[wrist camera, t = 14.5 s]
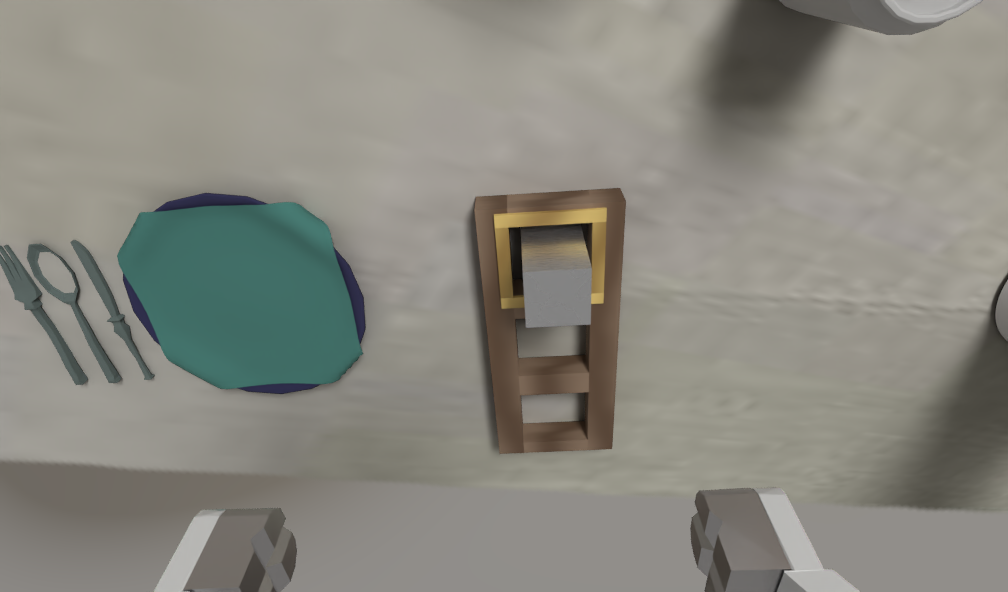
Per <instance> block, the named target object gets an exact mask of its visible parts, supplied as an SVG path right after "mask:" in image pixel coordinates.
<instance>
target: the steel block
mask: <svg viewBox="0 0 1008 592" xmlns="http://www.w3.org/2000/svg"><path fill="white" fill-rule="evenodd" d="M521 246H522V268H523V286H524V303H525V320H526V328H533V327H552V326H571V325H590V324H591V285H592V267H591V263H590V259H589V255H588V251H587V248H586V244H585V240H584V236H583V232H582V228H581V224H580V223H577V224H560V225H543V226H526V227H521Z"/></svg>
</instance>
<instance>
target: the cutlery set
mask: <svg viewBox="0 0 1008 592" xmlns="http://www.w3.org/2000/svg"><path fill="white" fill-rule="evenodd" d="M71 244H72V246H73V248H74V250H75V251H76V253H77V255H78V257H79V259H80V260H81V262H82V264H83V266H84V268H85V270H86V271H87V273H88V275H89V277H90V279H91V280H92V282H93V284H94V286H95V288H96V289H97V291H98V293H99V295H100V297H101V299H102V300H103V302H104V304H105V306H106V308H107V309H108V311H109V313H110V315H111V318H110V319H109V320H108V321H107V322H112V323H113V324H114V332H115V333H116V334H118V335H119V336H120V337H121V338H122V339H123V340H124V341H125V343H126V344H127V346H128V348H129V350H130V351H131V353H132V354H133V355H134V357H135V358H136V360H137V362H138V364H139V366H140V368H141V370H142V372H143V374H144V376H145V378H144V380H147V379H152V378H153V376H154V375H151V373H150V372H149V370H148V368H147V367H146V365H145V364H144V362H143V361H142V359H141V357H140V355H139V353H138V351H137V349H136V347H135V345H134V343H133V342H132V340H131V336H130V327H129V326H128V325H127V324H125V323H124V316H125V315H123V314H119V311H118V308H117V306H116V303H115V301H114V298H113V295H112V293H111V291H110V289H109V287H108V285H107V283H106V281H105V280H104V278H103V276H102V274H101V272H100V270H99V268H98V267H97V265H96V263H95V261H94V259H93V258H92V256H91V254H90V253H89V251H88V250H87V249H86V248H85V247H84V246H83V245H81V244H80V243H79V242H78V241H76V240H73V241H71ZM4 247H5V249H6V250H7V252H8V253H9V254H10V256H11V258H12V260H13V261H12V260H11V259H10V257H9V256H8V254H7V253H6V252H5V250H4V249H3V247H2V246H0V252H1V253H2V255H3V256H4V258H5V260H6V262H7V263H6V262H5V260H4V259H3V258H2V256H1V255H0V264H1V266H2V268H3V270H4V273H5V275H6V277H7V279H8V281H9V283H10V285H11V287H12V289H13V292H14V294H15V300H18V301H20V302H23V303H24V306H25V310H31V311H32V313H33V314H34V316H35V317H36V319H37V320H38V322H39V323H40V324H41V325H42V327H43V328H44V329H45V331H46V332H47V334H48V335H49V337H50V339H51V340H52V342H53V344H54V346H55V347H56V349H57V351H58V353H59V355H60V357H61V359H62V361H63V363H64V365H65V367H66V369H67V370H68V372H69V374H70V375H71V377H72V379H73V381H74V383H75V384H76V385H82V384H84V383H85V382H86V381H87V380H88V378H87V376H86V375H85V374H84V372H83V371H82V370H81V368H80V367H79V365H78V364H77V362H76V360H75V358H74V356H73V354H72V352H71V350H70V349H69V347H68V346H67V344H66V342H65V341H64V339H63V338H62V336H61V334H60V333H59V331H58V330H57V328H56V327H55V325H54V324H53V323H52V321H51V320H50V319H49V318H48V316H47V315H46V314H45V312H44V311H43V309H42V308H41V307H40V306H41V305H42V302H41V301H40V300H39V299H38V297H39V296H40V295H42V293H41V291H40V290H39V288H38V287H37V286H36V284H35V283H34V281H33V280H32V278H31V277H30V275H29V274H28V273H27V271H26V270H25V268H24V267H23V265H22V264H21V263H20V261H19V260H18V258H17V257H16V255H15V254H14V252H13V251H12V250H11V248H10V247H9V246H8V245H5V246H4ZM40 252H51V253H52V254H54V255H55V256H57V257H58V258H59V259H60V260H61V261H62V262H63V264H64V265H65V266H66V267H67V269H68V270H69V271H70V272H71V274H72V277H73V279H74V282H75V285H76V288H75V291H74V293H63V292H61V291H60V290H58V289H56V288H55V287H53V286H52V285H51V284H50V283H49V282H48V281H47V280H46V278H45V277H44V276H43V275H42V273H41V270H40V267H39V265H38V262H37V261H38V258H39V253H40ZM117 257H118V262H119V265H120V267H121V269H122V271H123V282H124V285H125V288H126V290H127V293H128V296H129V299H130V302H131V305H132V308H133V311H134V313H135V314H136V316H137V317H138V318H139V320H140V321H141V323H142V324H143V325H144V327H145V328H146V330H147V331H148V332H149V334H150V335H151V337H152V338H153V339H154V341H156V342H157V343H158V344H159V345H160V346H161V348H162V350H163V353H164V355H165V356H166V358H167V359H168V360H169V361H170V362H172V363H174V364H175V365H177V366H179V367H181V368H182V369H184V370H186V371H188V372H190V373H191V374H193V375H195V376H197V377H199V378H201V379H203V380H204V381H206V382H208V383H210V384H212V385H214V386H216V387H218V388H220V389H232V388H238V389H241V390H245V391H248V392H262V393H275V394H284V393H290V392H296V391H301V390H307V389H312V388H314V387H316V386H318V385H320V384H328V383H333V382H335V381H337V380H339V379H340V378H341V376H342V375H343V374H345V373H346V371H347V369H348V368H350V367H351V366H352V364H353V362H355V361H357V360H358V358H359V356H360V355H362V354H363V352H362V350H361V347H360V343H361V340H362V337H363V334H364V331H365V313H364V298H363V295H362V293H361V290H360V288H359V286H358V284H357V281H356V279H355V277H354V275H353V272H352V270H351V268H350V266H349V264H348V263H347V262H346V261H345V260H344V258H343V257H342V256H341V255H340V254H339V253H338V251H337V250H336V249H335V248H334V247H333V243H332V238H331V234H330V231H329V228H328V226H327V225H326V224H325V223H324V222H323V221H322V220H320V219H319V218H317V217H315V216H314V215H313V214H311V213H310V212H309V211H307V210H306V209H305V208H303V207H302V206H301V205H299V204H296V203H293V202H284V203H274V204H267V203H264V202H262V201H259V200H256V199H253V198H251V197H248V196H237V195H225V194H213V193H203V194H199V195H195V196H190V197H186V198H182V199H178V200H173V201H169V202H166V203H165V204H164V205H162V206H161V207H159V208H158V209H157V210H155V211H154V212H142V213H139V215H138V217H137V219H136V222H135V223H134V225H133V227H132V229H131V231H130V233H129V235H128V237H127V238H126V240H125V242H124V244H123V246H122V247H121V248H120V251H119V253H118V255H117ZM27 259H28V262H29V264H30V267H31V269H32V272H33V274H34V276H35V277H36V279H37V280H38V281H39V282H40V283H41V285H42V286H43V287H44V288H45V289H46V290H47V292H48V293H50V294H52V295H53V296H55V297H56V298H58V299H59V300H61V301H62V302H64V303H67V304H70V305H71V307H72V309H73V311H74V314H75V316H76V318H77V320H78V322H79V325H80V327H81V329H82V331H83V333H84V335H85V337H86V340H87V342H88V344H89V346H90V348H91V350H92V352H93V353H94V355H95V357H96V359H97V361H98V363H99V365H100V367H101V369H102V370H103V372H104V374H105V376H106V378H107V380H108V382H109V383H118V382H119V381H120V379H121V377H120V376H119V374H118V372H117V371H116V370H115V368H114V367H113V365H112V364H111V362H110V361H109V359H108V357H107V356H106V354H105V353H104V351H103V349H102V348H101V346H100V345H99V343H98V341H97V340H96V338H95V336H94V334H93V332H92V330H91V328H90V326H89V325H88V323H87V321H86V319H85V318H84V316H83V314H82V312H81V310H80V308H79V306H78V304H77V302H76V296H77V292H78V289H79V286H78V283H77V280H76V277H75V274H74V272H73V271H72V270H71V268H70V267H69V266H68V265H67V263H66V262H65V261H64V260H63V258H61V257H60V256H58V255H57V254H55V253H54V252H52V251H51V250H49V249H48V248H46V247H45V246H43V245H42V244H30V245H29V247H28V255H27ZM13 262H14V263H13ZM7 264H8V265H7Z"/></svg>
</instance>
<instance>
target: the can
mask: <svg viewBox="0 0 1008 592" xmlns="http://www.w3.org/2000/svg"><path fill="white" fill-rule="evenodd" d="M779 1H780V2H781V3H782V4H783V5H784V6H785V7H788V8H791V9H793V10H796V11H798V12H801V13H805V14H809V15H812V16H816V17H820V18H824V19H828V20H832V21H836V22H840V23H844V24H847V25H851V26H855V27H859V28H863V29H867V30H871V31H875V32H879V33H882V34H886V35H912V34H915V33H918V32H922V31H925V30H928V29H931V28H934V27H937V26H939V25H941V24H942V23H944V22H946V21H947V20H950V19H953V18H956V17H958V16H960V15H961V14H963V13H965V12H966V11H968V10H969V9H971V8H973V7H974V6H976V5H978V4H979V3H981V2H982V1H983V0H779Z"/></svg>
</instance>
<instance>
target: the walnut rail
mask: <svg viewBox="0 0 1008 592" xmlns="http://www.w3.org/2000/svg"><path fill="white" fill-rule="evenodd" d="M625 208H626V200H625V198H624V196H623V194H622V191H621V189H620V188H613V189H597V190H580V191H564V192H548V193H531V194H515V195H499V196H483V197H476V201H475V209H474V212H475V221H476V231H477V240H478V250H479V260H480V269H481V279H482V288H483V298H484V307H485V317H486V327H487V336H488V346H489V355H490V365H491V375H492V384H493V394H494V403H495V413H496V422H497V432H498V442H499V451H500V454H504V453H528V452H552V451H575V450H599V449H612V442H613V424H614V406H615V388H616V370H617V352H618V334H619V316H620V298H621V280H622V262H623V244H624V226H625ZM577 223H588V239H587V251H588V255H589V259H590V263H591V267H592V285H591V324H590V325H586V355H572V356H552V357H532V358H518V346H517V332H516V319H525V303H524V286H523V279H515V280H513V273H512V259H511V244H510V229H509V227H526V226H543V225H560V224H577ZM582 392H585V421H574V422H551V423H529V424H523V419H522V405H521V395H539V394H560V393H582Z"/></svg>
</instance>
